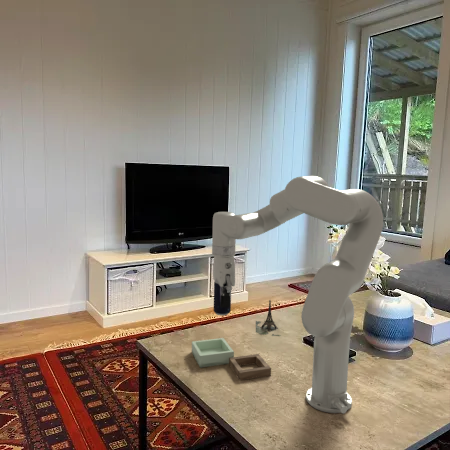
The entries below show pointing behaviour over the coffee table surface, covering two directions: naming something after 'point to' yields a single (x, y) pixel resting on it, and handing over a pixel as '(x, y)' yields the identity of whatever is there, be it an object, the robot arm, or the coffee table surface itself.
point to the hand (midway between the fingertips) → (222, 303)
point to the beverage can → (217, 296)
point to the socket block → (249, 373)
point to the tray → (212, 352)
